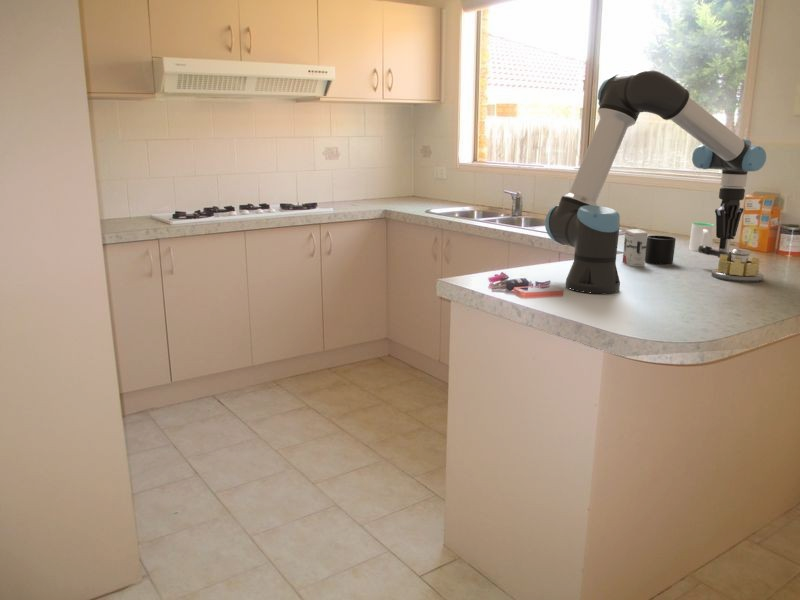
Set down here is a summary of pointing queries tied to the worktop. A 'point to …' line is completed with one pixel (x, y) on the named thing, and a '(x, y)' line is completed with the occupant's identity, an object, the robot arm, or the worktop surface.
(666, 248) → the mug
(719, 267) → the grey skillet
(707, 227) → the mug
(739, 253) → the flange
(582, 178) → the robot arm
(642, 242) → the ink box
